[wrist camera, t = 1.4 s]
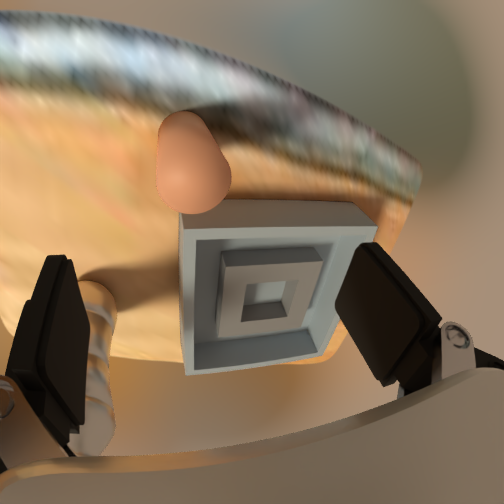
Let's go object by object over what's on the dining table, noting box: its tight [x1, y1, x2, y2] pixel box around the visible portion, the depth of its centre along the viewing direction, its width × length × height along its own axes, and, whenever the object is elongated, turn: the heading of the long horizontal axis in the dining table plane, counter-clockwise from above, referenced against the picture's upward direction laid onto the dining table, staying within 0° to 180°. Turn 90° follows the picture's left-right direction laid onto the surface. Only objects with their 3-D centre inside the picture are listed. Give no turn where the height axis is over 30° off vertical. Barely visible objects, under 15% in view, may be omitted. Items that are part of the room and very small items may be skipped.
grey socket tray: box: [179, 199, 378, 375], centre depth 33 cm, size 20×18×5 cm
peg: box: [156, 111, 231, 214], centre depth 20 cm, size 4×4×10 cm
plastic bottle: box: [68, 280, 117, 457], centre depth 23 cm, size 6×7×20 cm
